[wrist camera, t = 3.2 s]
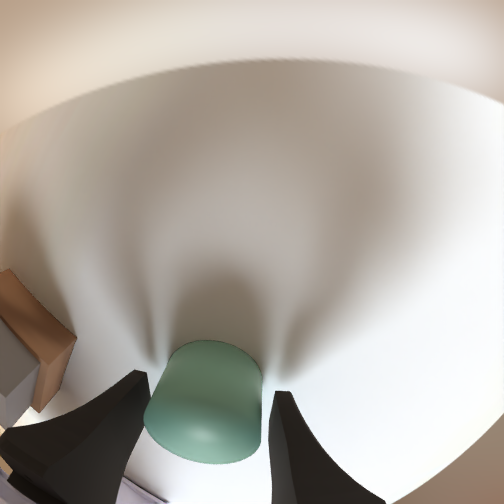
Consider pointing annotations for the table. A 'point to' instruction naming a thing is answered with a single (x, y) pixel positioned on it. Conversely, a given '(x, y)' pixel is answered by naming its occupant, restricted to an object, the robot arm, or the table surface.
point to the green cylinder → (207, 404)
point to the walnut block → (36, 336)
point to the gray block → (15, 377)
